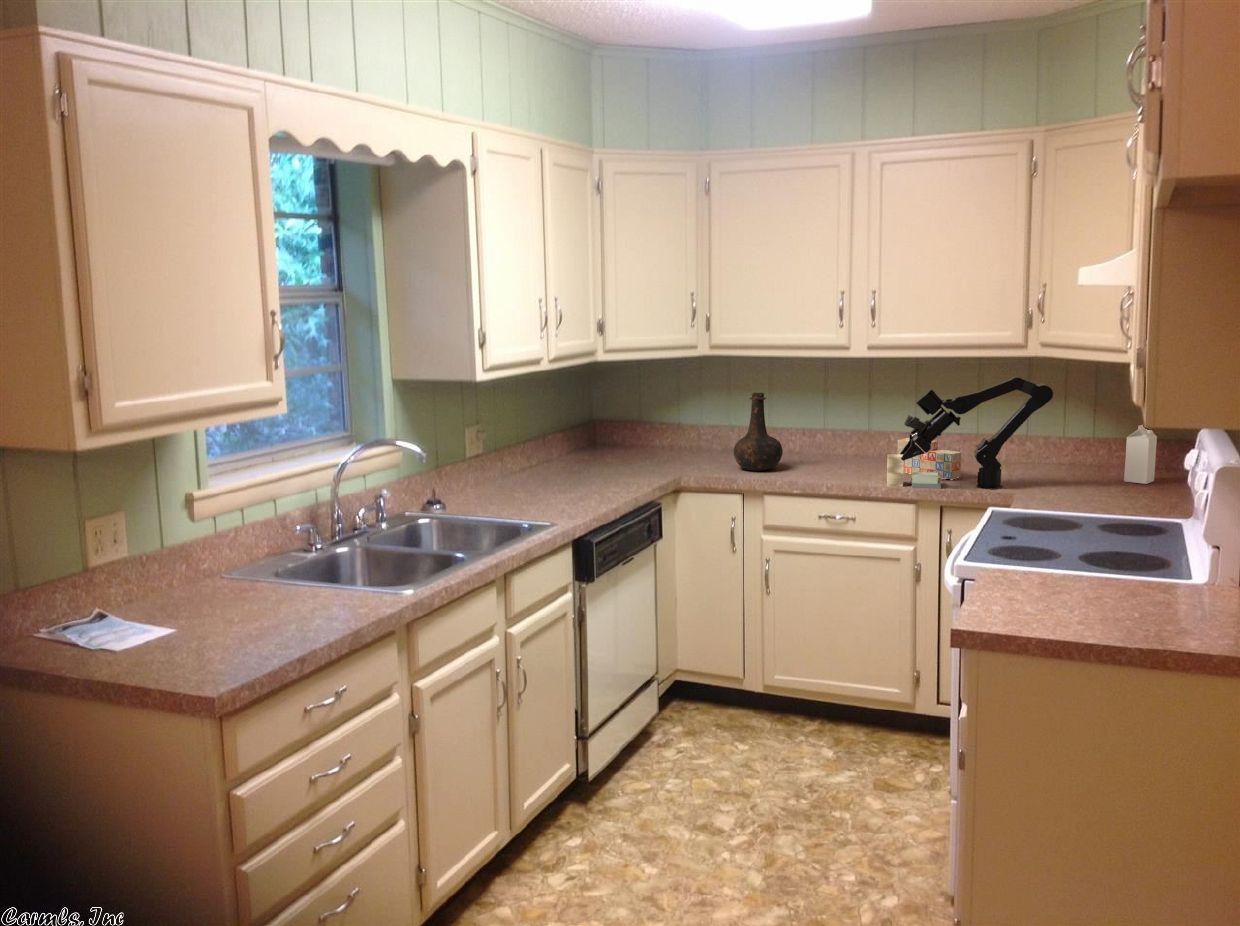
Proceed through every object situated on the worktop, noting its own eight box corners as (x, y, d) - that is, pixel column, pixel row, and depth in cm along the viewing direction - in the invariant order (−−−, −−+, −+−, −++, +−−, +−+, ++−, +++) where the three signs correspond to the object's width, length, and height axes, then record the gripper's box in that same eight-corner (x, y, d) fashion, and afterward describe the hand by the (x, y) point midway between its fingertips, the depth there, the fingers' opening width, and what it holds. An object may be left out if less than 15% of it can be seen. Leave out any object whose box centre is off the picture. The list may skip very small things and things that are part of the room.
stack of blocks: (960, 478, 369) (962, 443, 367) (951, 481, 365) (952, 445, 363) (906, 471, 384) (907, 437, 382) (896, 473, 380) (897, 439, 378)
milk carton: (1123, 481, 357) (1127, 425, 354) (1131, 478, 362) (1135, 422, 359) (1146, 484, 352) (1150, 426, 349) (1154, 481, 357) (1158, 424, 354)
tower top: (937, 479, 359) (937, 472, 359) (937, 483, 352) (937, 477, 351) (912, 478, 362) (913, 472, 361) (912, 482, 354) (912, 476, 354)
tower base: (938, 485, 360) (939, 479, 360) (940, 490, 352) (940, 484, 351) (910, 484, 362) (911, 478, 362) (912, 489, 354) (912, 483, 353)
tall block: (902, 483, 361) (903, 454, 359) (902, 486, 356) (903, 456, 354) (886, 483, 362) (887, 454, 360) (887, 486, 357) (887, 456, 355)
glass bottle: (760, 475, 381) (760, 396, 376) (723, 469, 394) (723, 393, 390) (792, 469, 392) (793, 392, 388) (755, 463, 406) (756, 389, 401)
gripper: (918, 404, 362) (883, 435, 366) (921, 410, 344) (884, 444, 348) (941, 427, 362) (906, 459, 366) (946, 435, 344) (909, 468, 348)
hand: (901, 457), depth 357 cm, fingers open, 9 cm apart
